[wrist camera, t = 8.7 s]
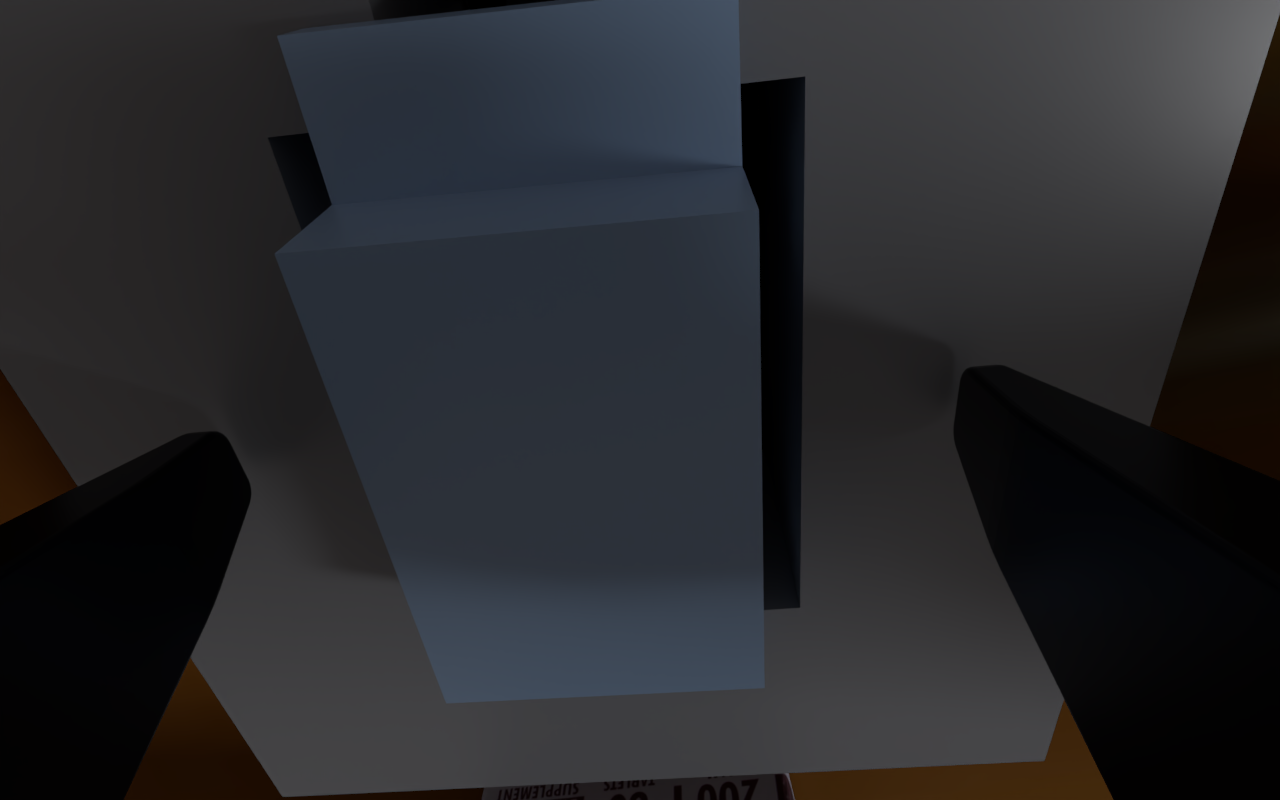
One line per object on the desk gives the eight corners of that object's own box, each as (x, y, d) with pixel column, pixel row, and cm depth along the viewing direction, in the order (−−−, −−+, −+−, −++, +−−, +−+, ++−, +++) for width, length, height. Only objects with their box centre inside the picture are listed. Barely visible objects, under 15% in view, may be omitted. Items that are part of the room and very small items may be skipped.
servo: (727, 478, 15) (765, 759, 10) (532, 491, 15) (472, 771, 10) (705, -45, 10) (756, -22, 5) (419, -12, 10) (192, 40, 5)
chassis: (963, 589, 16) (1044, 760, 13) (354, 629, 17) (282, 796, 14) (1150, -463, 8) (1523, -761, 4) (-63, -270, 9) (-502, -395, 5)
